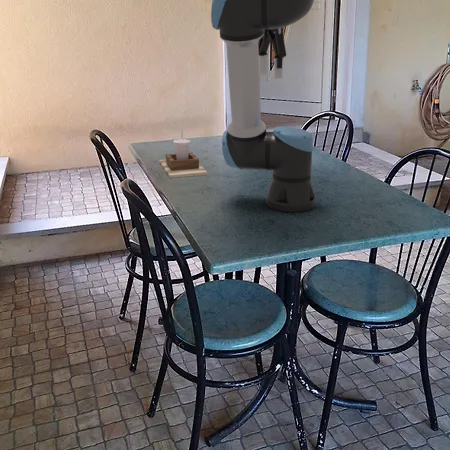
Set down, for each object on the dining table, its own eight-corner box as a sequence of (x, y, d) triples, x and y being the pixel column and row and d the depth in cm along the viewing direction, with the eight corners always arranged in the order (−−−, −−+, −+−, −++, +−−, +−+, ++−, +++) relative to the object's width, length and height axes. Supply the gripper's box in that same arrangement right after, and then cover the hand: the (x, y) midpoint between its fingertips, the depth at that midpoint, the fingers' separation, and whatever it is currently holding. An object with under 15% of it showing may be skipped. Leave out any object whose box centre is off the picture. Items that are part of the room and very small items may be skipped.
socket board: (207, 174, 194) (207, 162, 192) (169, 178, 190) (169, 165, 188) (193, 159, 213) (193, 148, 211) (159, 162, 210) (158, 151, 208)
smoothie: (192, 164, 204) (191, 127, 198) (189, 168, 198) (188, 131, 192) (175, 163, 204) (174, 127, 199) (172, 168, 198) (171, 131, 193)
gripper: (298, 11, 169) (295, 79, 177) (267, 11, 191) (266, 72, 199) (276, 11, 167) (274, 80, 174) (248, 11, 189) (247, 73, 196)
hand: (270, 76), depth 187 cm, fingers open, 13 cm apart
